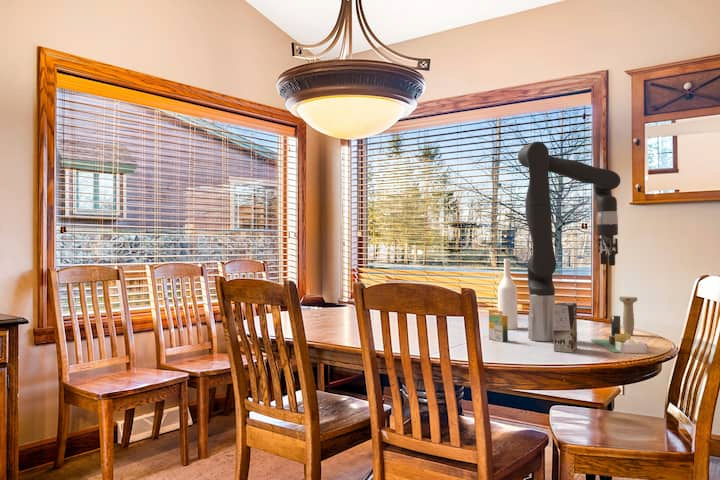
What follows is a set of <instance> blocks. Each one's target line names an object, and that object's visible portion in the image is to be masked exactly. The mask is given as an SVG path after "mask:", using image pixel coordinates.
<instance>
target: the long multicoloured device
mask: <svg viewBox="0 0 720 480" xmlns="http://www.w3.org/2000/svg"><path fill="white" fill-rule="evenodd" d="M610 320H611V321H610V325H611V327H610V329H611V330H610V331H611V335H610V336H613V337H615V345H616V342H621V343H623V344H624V343H625V341H626V340H628V339H631V340H632V335H631V334H624V333H621V315H611V316H610Z"/></svg>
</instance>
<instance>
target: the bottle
mask: <svg viewBox="0 0 720 480" xmlns="http://www.w3.org/2000/svg"><path fill="white" fill-rule="evenodd" d="M511 276H512V275H511V258H504V259H503V278H502V280H501V282H500V283H499V285H498V287H497V309H498V310H497V311H502V315H505V316H508V331H510V330H518V327H519V325H518V287H517V285H516V284H515V283H516V282H514V281H513V278H512V277H511ZM497 314H499V313H498V312H497Z"/></svg>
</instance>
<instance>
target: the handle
mask: <svg viewBox="0 0 720 480" xmlns="http://www.w3.org/2000/svg"><path fill="white" fill-rule="evenodd" d="M618 299H619V301H620V302H622V303H623V313H622V327H623V334H631V336H633V335H634V329H635V328H634V327H635V315H634V303H637V301H638V297H637V296H619V297H618Z"/></svg>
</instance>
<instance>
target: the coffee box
mask: <svg viewBox="0 0 720 480" xmlns="http://www.w3.org/2000/svg"><path fill="white" fill-rule="evenodd" d="M577 305H578V304H577V302H557V303H556V302H555V304H554V305H553V330H554V341H553V351H554V352H561V353H568V354H569V353H570V354H571V353H574V352H575V351H576V350H577V349H578V331H577V330H578V323H577V322H578V317H577V316H578V315H577V313H578V310H577V308H578V307H577Z"/></svg>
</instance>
